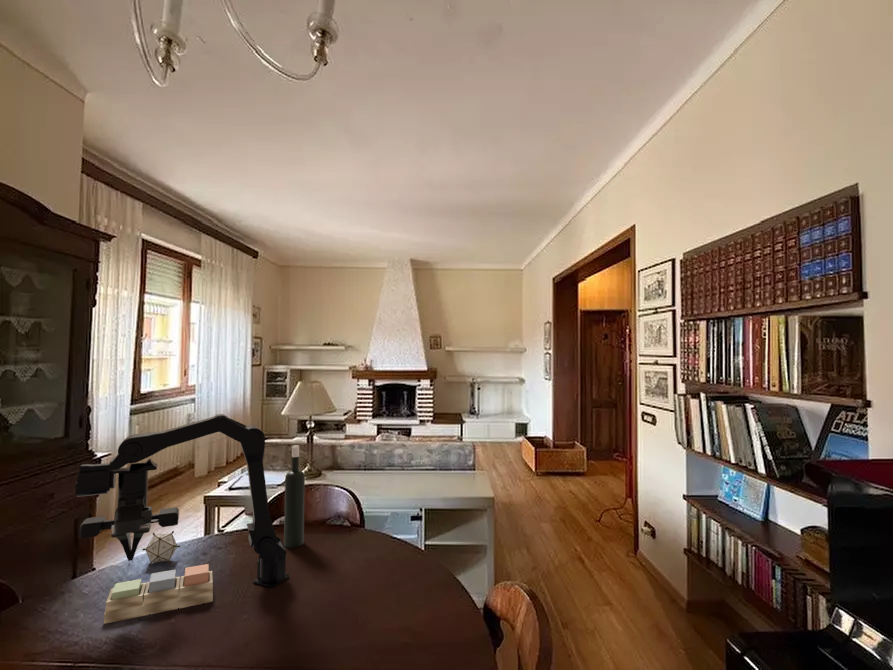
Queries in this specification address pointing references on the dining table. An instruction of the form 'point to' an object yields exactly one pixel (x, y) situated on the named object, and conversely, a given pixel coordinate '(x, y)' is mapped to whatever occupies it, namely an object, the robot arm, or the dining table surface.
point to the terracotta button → (196, 575)
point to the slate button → (162, 581)
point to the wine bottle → (294, 503)
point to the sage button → (126, 589)
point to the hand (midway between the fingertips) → (130, 560)
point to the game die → (161, 548)
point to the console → (158, 600)
